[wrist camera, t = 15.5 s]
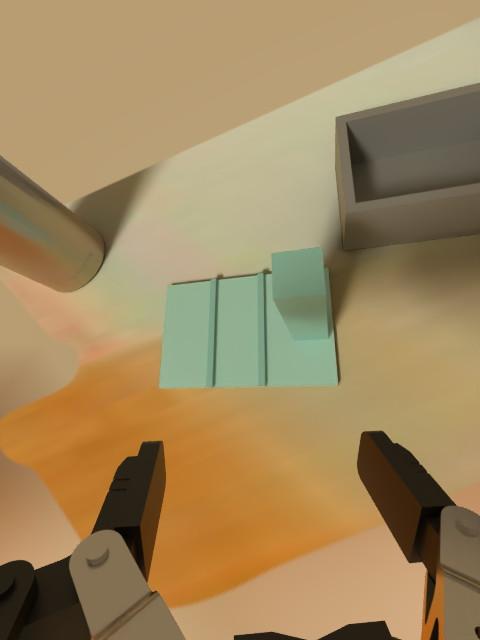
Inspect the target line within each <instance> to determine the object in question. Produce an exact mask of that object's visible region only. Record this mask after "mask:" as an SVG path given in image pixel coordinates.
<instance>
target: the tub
mask: <svg viewBox="0 0 480 640" xmlns="http://www.w3.org/2000/svg"><path fill="white" fill-rule="evenodd" d="M335 170H336V180H337V191H338V201H339V211H340V221H341V231H342V241H343V251H347V250H355V249H363V248H371V247H379V246H387V245H395V244H402V243H410V242H418V241H426V240H434V239H442V238H450V237H458V236H466V235H474V234H480V83H477V84H473V85H469V86H464V87H460V88H456V89H452V90H448V91H444V92H439V93H435V94H431V95H427V96H423V97H418V98H414V99H410V100H406V101H402V102H397V103H393V104H389V105H385V106H381V107H376V108H372V109H368V110H364V111H360V112H355V113H351V114H347V115H343V116H339V117H336V134H335Z"/></svg>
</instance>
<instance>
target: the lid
mask: <svg viewBox="0 0 480 640" xmlns="http://www.w3.org/2000/svg"><path fill="white" fill-rule="evenodd" d="M285 386H338V377H337V365H336V353H335V341H334V330H333V318H332V306H331V294H330V282H329V271H328V267H325V268H324V265H323V253H322V247H316V248H308V249H301V250H293V251H286V252H278V253H272V274H265V275H264V273H258V274H257V275H256V276H248V277H239V278H230V279H222V280H217V279H211V280H210V281H205V282H196V283H187V284H179V285H170V286H167V298H166V310H165V322H164V334H163V345H162V357H161V369H160V381H159V388H162V389H164V388H224V387H285Z"/></svg>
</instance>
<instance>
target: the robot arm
mask: <svg viewBox="0 0 480 640" xmlns="http://www.w3.org/2000/svg"><path fill="white" fill-rule="evenodd" d="M104 249H105V247H104V241H103V239H102V236H101V235H100V234H99V233H98V232H97V231H96V230H95V229H93V228H92V227H91V226H90V225H88V224H87V223H86V222H85V221H83V220H82V219H81V218H79V217H78V216H77V215H76V214H75V213H73V212H72V211H71V210H69V209H68V208H67V207H66V206H64V205H63V204H62V203H60V202H59V201H58V200H57V199H55V198H54V197H53V196H52V195H50V194H49V193H48V192H46V191H45V190H44V189H43V188H41V187H40V186H39V185H38V184H36V183H35V182H34V181H32V180H31V179H30V178H29V177H27V176H26V175H25V174H23V173H22V172H21V171H20V170H18V169H17V168H16V167H15V166H13V165H12V164H11V163H9V162H8V161H7V160H5V159H4V158H3V157H2V156H1V155H0V265H1V266H3V267H5V268H8V269H10V270H12V271H14V272H16V273H19V274H21V275H23V276H25V277H27V278H29V279H32V280H34V281H36V282H38V283H41V284H43V285H45V286H47V287H50V288H52V289H54V290H56V291H59V292H71V291H74V290H77V289H79V288H81V287H82V286H84V285H85V284H86V283H88V282H89V281H90V280H91V279H92V278H93V277H94V275H95V274H96V273H97V271H98V269H99V268H100V266H101V263H102V261H103V257H104ZM357 468H358V473H359V476H360V479H361V481H362V482H363V484H364V486H365V487H366V489H367V491H368V493H369V494H370V496H371V498H372V500H373V501H374V503H375V505H376V507H377V508H378V510H379V512H380V514H381V515H382V517H383V519H384V520H385V522H386V524H387V526H388V527H389V529H390V531H391V533H392V534H393V536H394V538H395V539H396V541H397V543H398V544H399V547H400V548H401V550H402V552H403V553H404V555H405V557H406V559H407V560H408V562H409V563H417V562H423V564H424V565H425V567H426V568H427V571H426V575H425V587H424V604H423V620H422V634H421V640H480V516H479V515H478V514H476V513H474V512H473V511H471V510H468V509H466V508H463V507H459V506H457V505H456V504H455V503H454V502H453V501H452V500H451V499H450V497H449V496H448V495H447V494H446V493H445V492H444V490H443V489H442V488H441V487H440V486H439V485H438V483H437V482H436V481H435V480H434V479H433V478H432V477H431V475H430V474H428V473H427V471H426V470H425V468H424V467H423V466H422V465H420V464H419V461H418V460H417V459H416V458H415V457H414V456H413V455H412V453H411V452H410V451H408V450H407V449H405V448H404V447H402V446H401V445H399V444H398V443H393V442H392V441H391V440H390V439H389V437H388V436H387V435H386V434H385V433H384V432H383V431H365V432H362V434H361V439H360V446H359V453H358V460H357ZM165 483H166V470H165V458H164V446H163V441H148V442H142V445H141V447H140V450H139V453H138V456H132V457H127V458H126V459H125V460H124V461H123V462H122V463H121V465H120V466H119V467H118V468H117V471H116V473H115V476H114V478H113V482H112V483H111V486H110V488H109V492H108V493H107V496H106V498H105V501H104V503H103V506H102V508H101V511H100V513H99V516H98V518H97V521H96V523H95V526H94V528H93V531H92V533H91V535H89V536H88V537H86V538H85V539H84V540H83V541H82V542H81V543H80V544H79V545H78V546H77V547H76V548H75V550H74V552H73V553H72V554H71V555H70V556H68V557H66V558H64V559H62V560H60V561H57V562H55V563H52V564H49V565H47V566H44V567H41V568H39V569H36V570H34V568H33V566H32V564H31V563H29V562H27V561H24V560H16V561H11V562H8V563H6V564H4V565H1V566H0V640H186V639H185V637H184V635H183V634H182V632H181V630H180V628H179V626H178V625H177V623H176V621H175V619H174V618H173V616H172V614H171V612H170V610H169V609H168V607H167V605H166V603H165V602H164V600H163V598H162V597H161V595H160V594H159V593H158V592H157V591H154V592H152V591H151V589H150V588H149V586H148V584H147V582H148V577H149V571H150V566H151V561H152V556H153V550H154V545H155V540H156V534H157V529H158V524H159V518H160V513H161V508H162V502H163V497H164V492H165ZM234 640H305V639H301V638H297V637H292V636H288V635H283V634H279V633H275V632H265V633H255V634H245V635H235V636H234ZM318 640H401V639H398V638H395V637H392V636H391V634H390V632H389V630H388V627H387V625H386V623H385V621H377V622H367V623H356V624H348V625H346V626H344V627H342V628H341V629H338V630H336V631H334V632H332V633H330V634H328V635H326V636H324V637H322V638H320V639H318Z"/></svg>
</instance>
